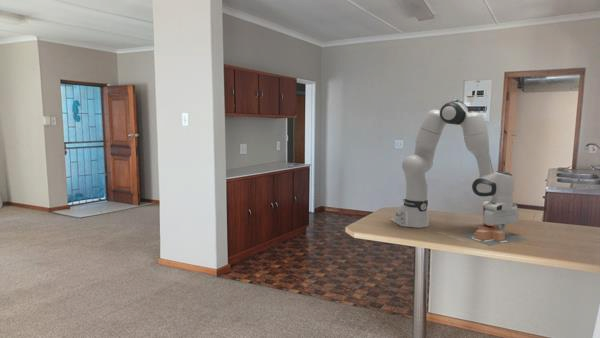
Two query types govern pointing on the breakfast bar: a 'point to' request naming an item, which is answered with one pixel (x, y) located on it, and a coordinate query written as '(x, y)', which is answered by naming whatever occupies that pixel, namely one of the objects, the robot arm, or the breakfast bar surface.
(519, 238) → the board
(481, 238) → the t block
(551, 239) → the breakfast bar surface
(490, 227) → the paper cup
